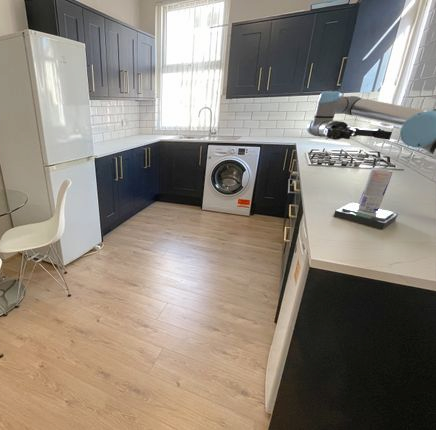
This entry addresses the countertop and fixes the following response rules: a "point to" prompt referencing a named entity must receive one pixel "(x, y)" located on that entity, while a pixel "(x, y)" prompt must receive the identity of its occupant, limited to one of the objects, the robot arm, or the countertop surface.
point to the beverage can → (375, 189)
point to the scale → (366, 216)
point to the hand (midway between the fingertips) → (369, 135)
